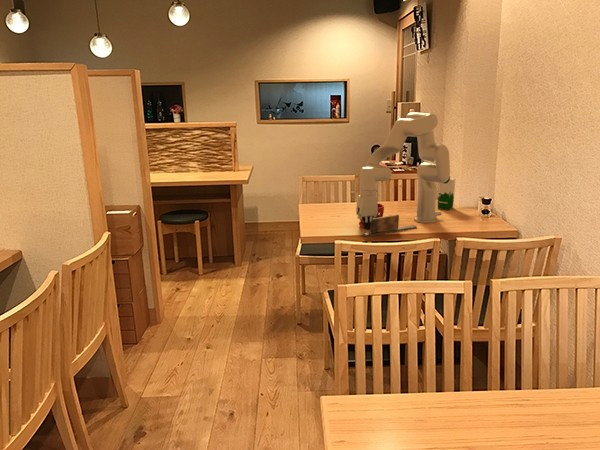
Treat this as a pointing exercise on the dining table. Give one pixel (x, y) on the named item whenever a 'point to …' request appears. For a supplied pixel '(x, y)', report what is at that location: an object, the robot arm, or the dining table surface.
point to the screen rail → (390, 231)
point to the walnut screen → (384, 223)
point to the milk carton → (446, 194)
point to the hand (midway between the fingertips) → (366, 229)
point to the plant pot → (381, 211)
